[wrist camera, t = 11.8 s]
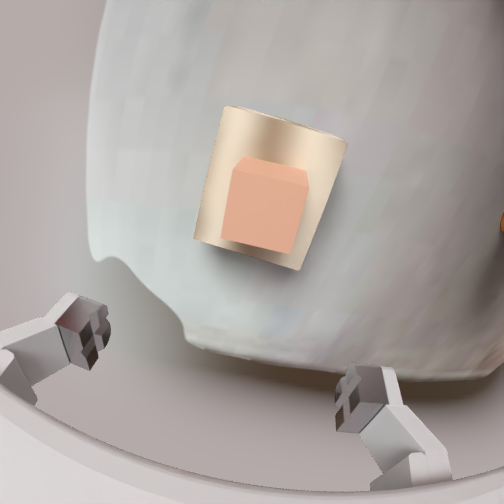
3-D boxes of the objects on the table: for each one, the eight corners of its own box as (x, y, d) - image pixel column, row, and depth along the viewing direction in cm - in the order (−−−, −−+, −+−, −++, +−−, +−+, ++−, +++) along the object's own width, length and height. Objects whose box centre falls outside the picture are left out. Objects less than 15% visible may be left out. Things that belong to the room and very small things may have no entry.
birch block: (336, 136, 27) (347, 144, 22) (298, 242, 33) (299, 270, 27) (237, 106, 27) (224, 106, 22) (209, 215, 33) (193, 238, 27)
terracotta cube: (305, 170, 23) (309, 186, 19) (290, 226, 26) (290, 254, 21) (244, 156, 23) (232, 169, 19) (233, 213, 26) (220, 238, 21)
